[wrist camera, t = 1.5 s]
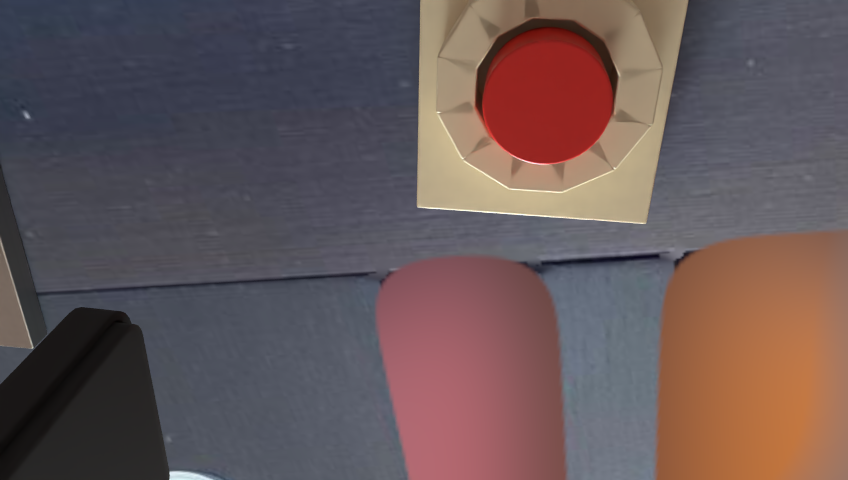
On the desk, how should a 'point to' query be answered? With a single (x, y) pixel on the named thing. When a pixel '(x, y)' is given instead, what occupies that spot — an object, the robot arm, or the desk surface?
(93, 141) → the desk surface
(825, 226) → the desk surface
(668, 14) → the switch block
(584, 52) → the button
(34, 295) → the bracket
